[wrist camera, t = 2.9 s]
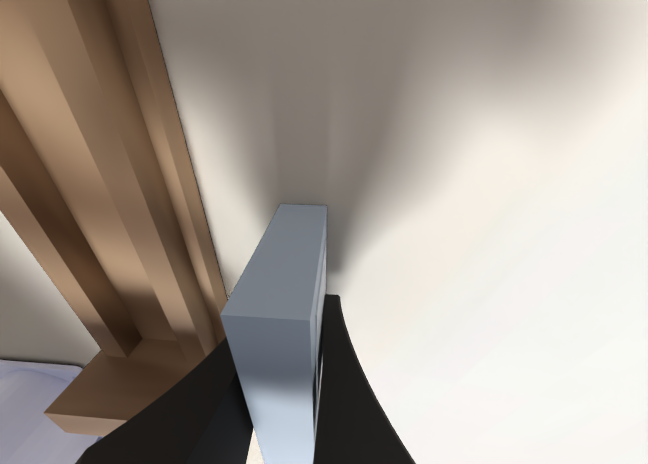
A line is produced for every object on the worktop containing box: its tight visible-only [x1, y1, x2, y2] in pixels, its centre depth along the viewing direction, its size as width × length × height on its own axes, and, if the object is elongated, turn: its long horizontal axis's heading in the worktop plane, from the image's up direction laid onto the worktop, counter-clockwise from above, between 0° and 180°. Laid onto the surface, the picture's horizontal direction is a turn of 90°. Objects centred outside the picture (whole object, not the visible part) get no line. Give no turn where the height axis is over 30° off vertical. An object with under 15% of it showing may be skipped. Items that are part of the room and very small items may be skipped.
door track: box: [0, 0, 228, 436], centre depth 9 cm, size 20×7×5 cm, turn 0°
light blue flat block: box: [220, 204, 327, 464], centre depth 10 cm, size 9×2×6 cm, turn 0°
